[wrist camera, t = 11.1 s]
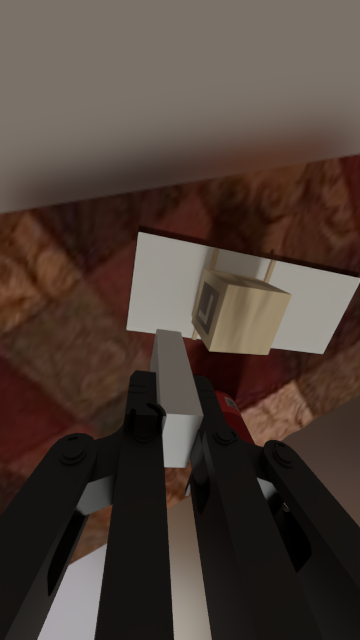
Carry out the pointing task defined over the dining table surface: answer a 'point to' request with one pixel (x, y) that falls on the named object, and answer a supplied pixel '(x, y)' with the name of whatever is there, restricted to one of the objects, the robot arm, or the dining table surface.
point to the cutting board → (191, 259)
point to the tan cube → (238, 313)
